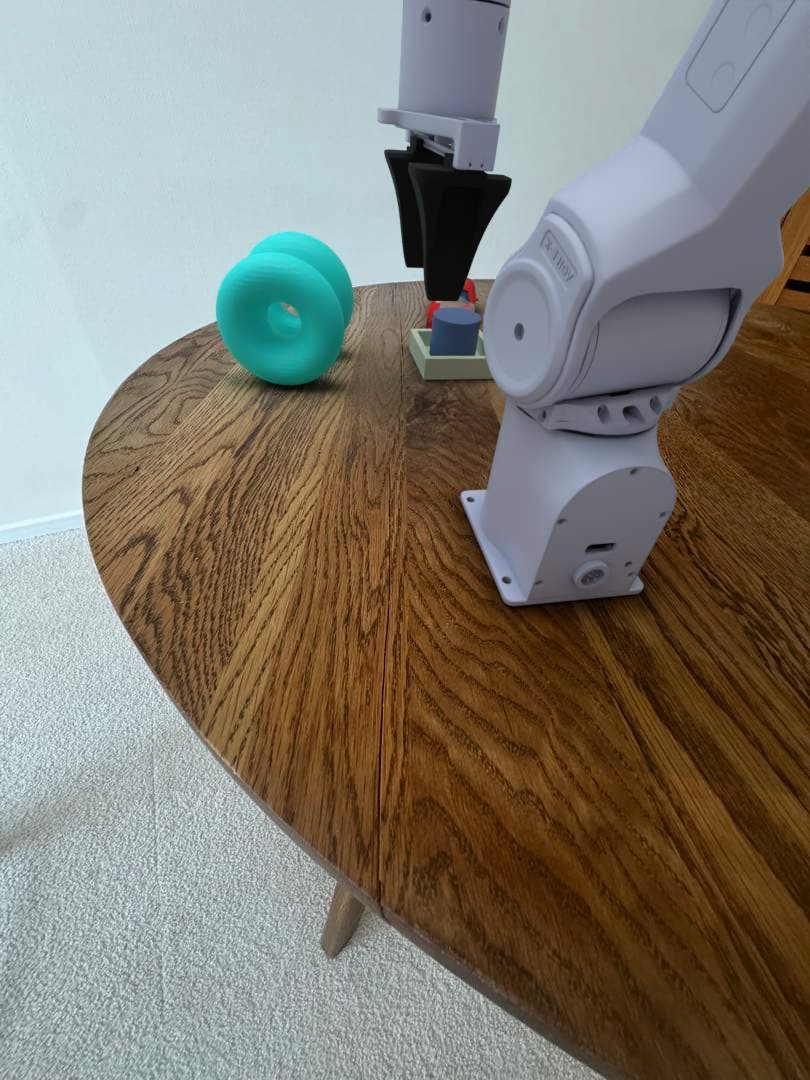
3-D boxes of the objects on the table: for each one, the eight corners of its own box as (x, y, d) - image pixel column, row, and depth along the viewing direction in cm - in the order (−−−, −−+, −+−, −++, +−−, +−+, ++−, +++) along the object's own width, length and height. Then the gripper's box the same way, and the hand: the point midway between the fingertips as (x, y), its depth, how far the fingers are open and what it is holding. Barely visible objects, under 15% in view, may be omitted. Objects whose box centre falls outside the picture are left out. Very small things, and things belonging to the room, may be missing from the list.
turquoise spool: (355, 349, 50) (355, 233, 43) (342, 396, 42) (341, 264, 35) (253, 341, 49) (238, 223, 43) (222, 386, 42) (198, 251, 35)
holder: (498, 379, 47) (502, 358, 46) (423, 380, 46) (425, 358, 44) (476, 348, 52) (479, 328, 51) (408, 348, 51) (410, 328, 49)
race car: (471, 344, 53) (478, 304, 50) (421, 338, 53) (424, 298, 51) (477, 304, 63) (483, 269, 60) (434, 299, 63) (438, 264, 60)
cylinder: (479, 367, 47) (487, 324, 45) (434, 368, 46) (439, 323, 44) (467, 349, 50) (473, 307, 48) (424, 349, 50) (428, 306, 47)
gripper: (364, 8, 31) (361, 253, 40) (408, -24, 21) (390, 317, 30) (473, 22, 33) (446, 256, 42) (565, -2, 22) (502, 318, 31)
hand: (429, 282), depth 36 cm, fingers open, 7 cm apart
